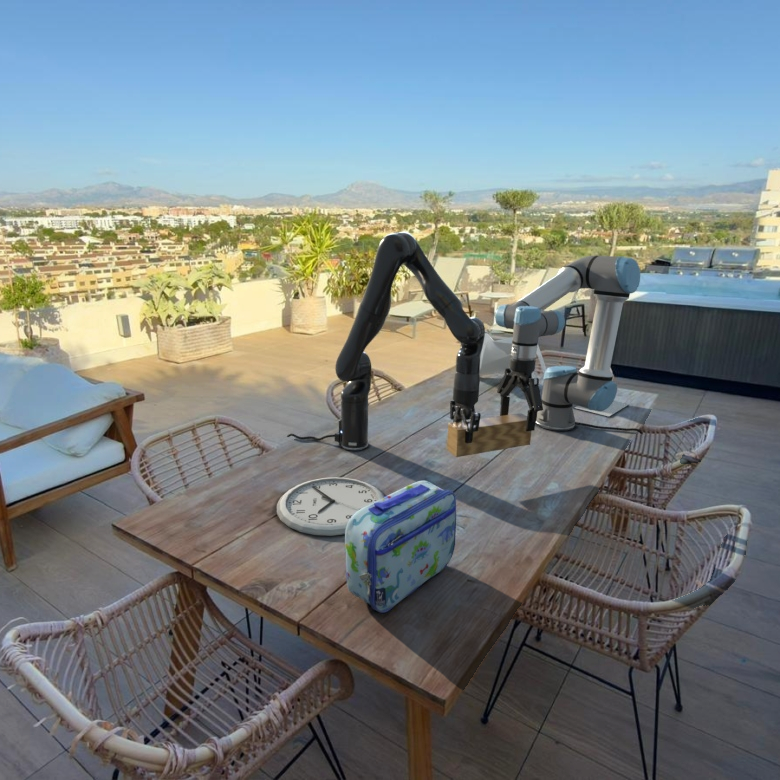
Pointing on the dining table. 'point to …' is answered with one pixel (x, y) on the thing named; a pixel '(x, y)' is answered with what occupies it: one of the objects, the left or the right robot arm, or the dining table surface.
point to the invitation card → (609, 411)
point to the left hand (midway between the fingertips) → (462, 438)
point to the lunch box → (399, 543)
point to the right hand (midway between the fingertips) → (516, 423)
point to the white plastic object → (500, 356)
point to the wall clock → (325, 504)
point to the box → (489, 435)
